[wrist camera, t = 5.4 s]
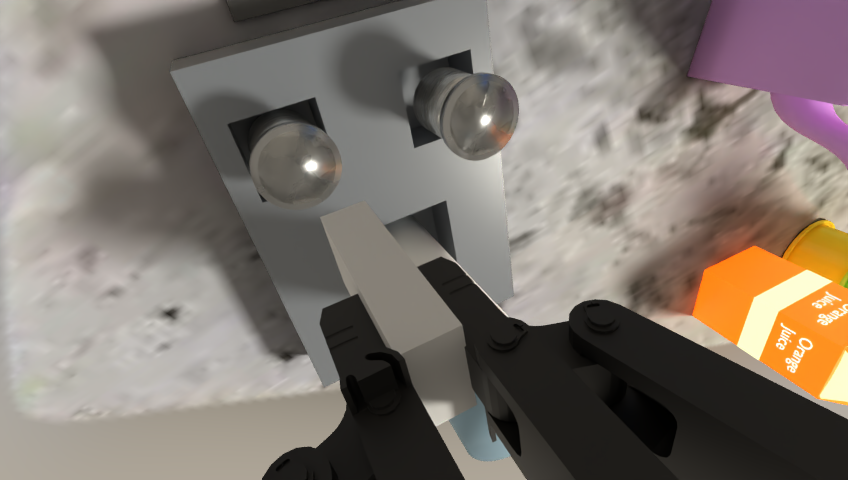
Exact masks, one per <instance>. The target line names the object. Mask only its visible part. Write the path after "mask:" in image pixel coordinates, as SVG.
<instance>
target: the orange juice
mask: <svg viewBox="0 0 848 480" xmlns="http://www.w3.org/2000/svg"><path fill="white" fill-rule="evenodd" d="M692 316H694V317H695V318H697V319H698V320H700V321H701V322H703V323H704V324H706V325H707V326H709V327H710V328H712V329H713V330H715V331H716V332H718V333H719V334H721V335H722V336H724V337H725V338H727V339H728V340H730V341H731V342H733V343H734V344H736V345H737V346H738V347H739V348H741V349H742V350H744V351H745V352H747V353H749V354H750V355H752V356H753V357H755V358H756V359H757V360H760V361H761V362H763V363H764V364H766V365H767V366H769V367H770V368H772V369H773V370H775V371H776V372H778V373H780V374H781V375H782V376H784V377H786V378H787V379H789V380H790V381H791V382H793V383H795V384H796V385H797V386H799V387H801V388H802V389H804V390H805V391H806V392H808V393H810V394H811V395H812V396H814V397H816V398H817V399H821V400H826V401H830V402H835V403H840V404H844V405H848V289H846V288H844V287H842V286H840V285H838V284H836V283H834V282H832V281H830V280H828V279H826V278H824V277H822V276H820V275H818V274H815V273H813V272H811V271H809V270H806V269H804V268H801V267H799V266H797V265H795V264H793V263H791V262H789V261H786V260H784V259H782V258H780V257H778V256H776V255H774V254H771V253H769V252H767V251H765V250H763V249H761V248H759V247H756V246H753V247H751V248H749V249H747V250H745V251H743V252H741V253H738V254H736V255H734V256H732V257H730V258H728V259H726V260H724V261H722V262H720V263H718V264H716V265H714V266H711V267H709V268H707V269H705V270H704V274H703V277H702V281H701V285H700V289H699V292H698V296H697V300H696V304H695V308H694V311H693V315H692Z"/></svg>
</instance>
